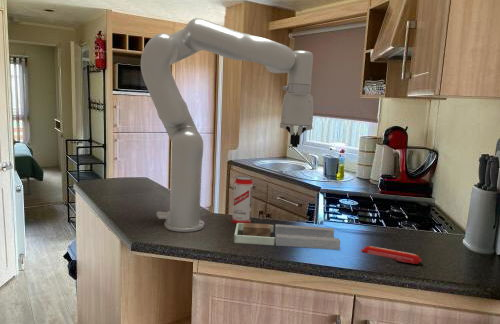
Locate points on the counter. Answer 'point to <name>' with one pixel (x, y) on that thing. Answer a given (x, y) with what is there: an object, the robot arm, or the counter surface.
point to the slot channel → (306, 237)
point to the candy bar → (393, 254)
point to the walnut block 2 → (263, 230)
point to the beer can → (242, 200)
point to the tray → (252, 237)
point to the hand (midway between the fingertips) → (294, 146)
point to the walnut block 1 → (250, 229)
